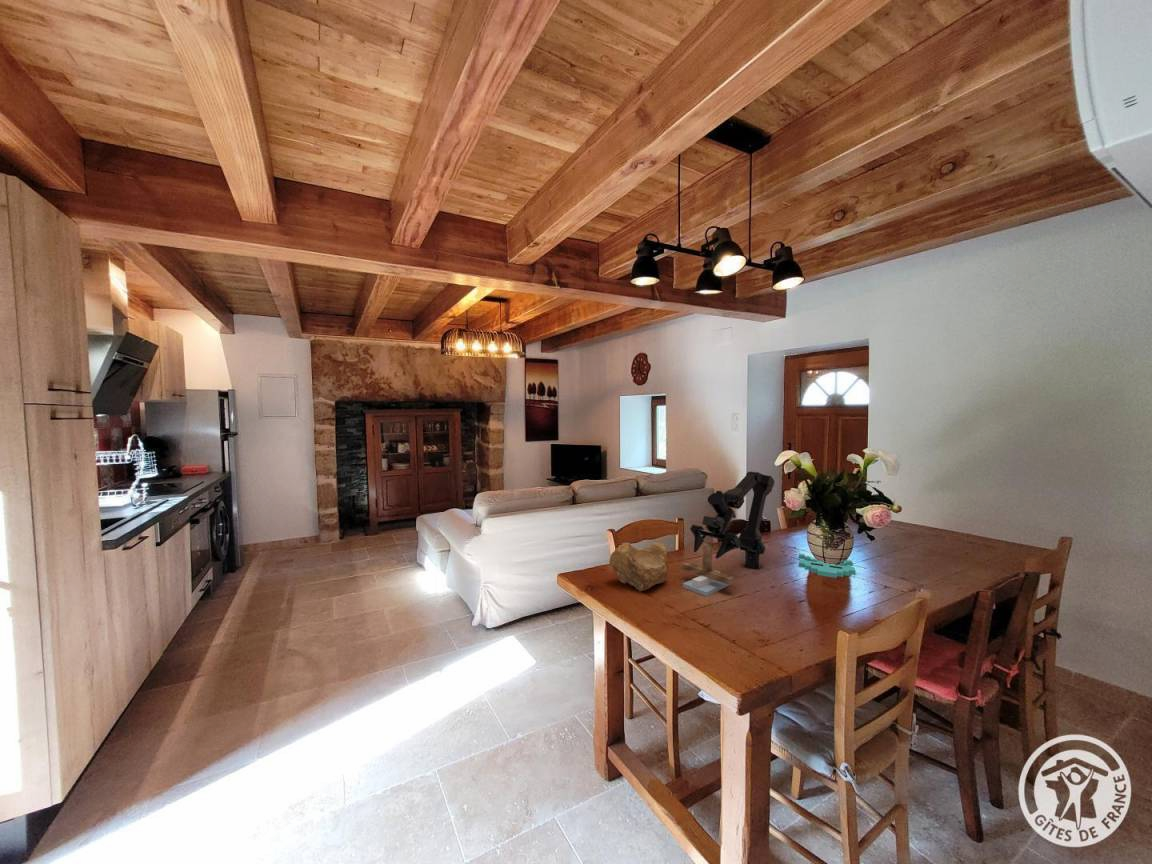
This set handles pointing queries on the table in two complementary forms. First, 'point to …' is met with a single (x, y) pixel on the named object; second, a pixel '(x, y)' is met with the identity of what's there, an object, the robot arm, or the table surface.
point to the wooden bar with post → (708, 567)
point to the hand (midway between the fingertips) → (705, 554)
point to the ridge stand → (704, 585)
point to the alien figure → (826, 567)
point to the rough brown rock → (640, 565)
